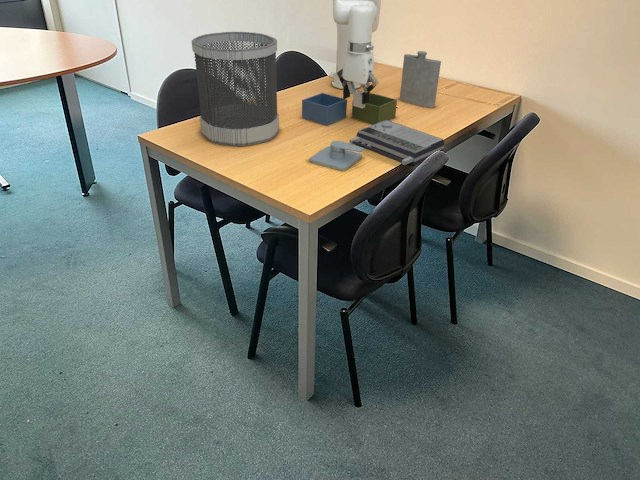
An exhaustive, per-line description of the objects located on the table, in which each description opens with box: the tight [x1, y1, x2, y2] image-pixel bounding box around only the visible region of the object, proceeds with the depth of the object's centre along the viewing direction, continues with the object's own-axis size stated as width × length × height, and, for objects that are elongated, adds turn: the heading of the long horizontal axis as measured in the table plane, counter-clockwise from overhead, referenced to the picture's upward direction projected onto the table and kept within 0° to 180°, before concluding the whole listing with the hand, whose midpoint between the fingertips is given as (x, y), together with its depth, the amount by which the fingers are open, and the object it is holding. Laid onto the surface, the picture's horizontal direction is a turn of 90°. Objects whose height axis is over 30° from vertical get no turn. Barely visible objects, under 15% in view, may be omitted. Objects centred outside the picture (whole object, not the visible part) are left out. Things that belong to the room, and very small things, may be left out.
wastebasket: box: [191, 31, 280, 147], centre depth 173 cm, size 25×25×30 cm
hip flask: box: [399, 50, 442, 109], centre depth 206 cm, size 16×4×20 cm, turn 49°
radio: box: [348, 120, 446, 167], centre depth 169 cm, size 24×5×20 cm
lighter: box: [347, 81, 365, 108], centre depth 178 cm, size 7×2×8 cm, turn 51°
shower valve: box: [309, 140, 365, 171], centre depth 161 cm, size 12×6×15 cm
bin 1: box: [301, 92, 348, 127], centre depth 192 cm, size 12×12×7 cm
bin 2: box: [351, 92, 398, 125], centre depth 194 cm, size 12×12×7 cm
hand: (355, 100), depth 179 cm, fingers closed on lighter, 7 cm apart
